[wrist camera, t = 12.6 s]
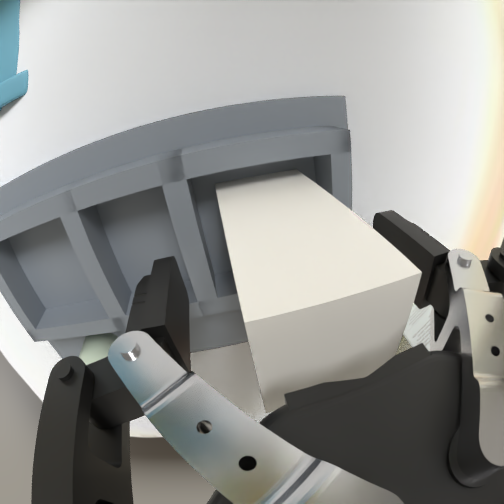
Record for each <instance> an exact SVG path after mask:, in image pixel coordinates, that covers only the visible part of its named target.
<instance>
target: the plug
mask: <svg viewBox="0 0 504 504" xmlns="http://www.w3.org/2000/svg"><path fill="white" fill-rule="evenodd" d="M215 188H216V193H217V198H218V203H219V208H220V213H221V218H222V223H223V228H224V233H225V238H226V242H227V247H228V252H229V257H230V261H231V266H232V271H233V275H234V280H235V284H236V289H237V293H238V298H239V302H240V307H241V311H242V315H243V320H244V324H245V328H246V333H247V337H248V341H249V345H250V350H251V354H252V358H253V362H254V366H255V370H256V375H257V379H258V383H259V387H260V391H261V395H262V399H263V403H264V407H265V411H266V413H268V412H273V411H275V410H276V409H278V408H280V407H281V406H283V405H285V397H284V394H286V393H289V392H293V391H297V390H300V389H304V388H307V387H311V386H314V385H317V384H320V383H323V382H334V381H343V380H351V379H358V378H364V377H367V376H368V375H370V374H371V373H373V372H374V371H375V370H377V369H378V368H379V367H381V366H382V365H383V364H385V363H386V362H387V361H388V360H390V359H391V358H392V357H394V356H395V355H396V352H397V350H398V347H399V345H400V342H401V339H402V336H403V334H404V331H405V328H406V325H407V322H408V319H409V316H410V313H411V310H412V306H413V303H414V300H415V296H416V293H417V289H418V286H419V282H420V278H421V274H422V272H421V271H420V270H419V269H418V268H417V267H416V266H415V265H414V264H413V263H412V262H411V261H410V260H409V259H407V258H406V257H405V256H404V255H403V254H402V253H401V252H400V251H399V250H398V249H396V248H395V247H394V246H393V245H392V244H391V243H390V242H388V241H387V240H386V239H385V238H384V237H383V236H382V235H380V234H379V233H378V232H377V231H376V230H375V229H373V228H372V227H371V226H370V225H369V224H367V223H366V222H365V221H364V220H362V219H361V218H360V217H359V216H358V215H356V214H355V213H354V212H353V211H351V210H350V209H349V208H348V207H346V206H345V205H344V204H342V203H341V202H340V201H339V200H337V199H336V198H335V197H333V196H332V195H331V194H329V193H328V192H327V191H326V190H324V189H323V188H322V187H320V186H319V185H317V184H316V183H315V182H313V181H312V180H311V179H309V178H308V177H306V176H305V175H304V174H302V173H301V172H299V171H298V170H297V169H296V170H289V171H283V172H277V173H271V174H265V175H259V176H253V177H248V178H242V179H237V180H232V181H227V182H222V183H217V184H215Z"/></svg>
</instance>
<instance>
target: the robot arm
mask: <svg viewBox="0 0 504 504" xmlns="http://www.w3.org/2000/svg"><path fill="white" fill-rule="evenodd" d="M373 229H375V230H376V231H377V232H378V233H379V234H380V235H382V236H383V237H384V238H385V239H386V240H387V241H388V242H390V243H391V244H392V245H393V246H394V247H395V248H396V249H398V250H399V251H400V252H401V253H402V254H403V255H404V256H405V257H406V258H407V259H409V260H410V261H411V262H412V263H413V264H414V265H415V266H416V267H417V268H418V269H419V270H420V271H421V272H422V274H421V278H420V282H419V286H418V289H417V293H416V296H415V300H414V304H415V305H416V306H417V307H418V308H419V309H422V308H424V307H427V306H429V305H432V309H431V312H430V351H428V350H427V348H426V347H425V345H424V344H423V343H421V344H419V345H417V346H414V347H412V348H410V349H408V350H406V351H404V352H402V353H399V354H397V355H395V356H394V357H392V358H391V359H390V360H388V361H387V362H386V363H385V364H383V365H382V366H381V367H379V368H378V369H377V370H375V371H374V372H373V373H371V374H370V375H368V376H367V377H364V378H358V379H351V380H343V381H334V382H323V383H320V384H317V385H314V386H311V387H307V388H304V389H300V390H297V391H293V392H289V393H286V394H284V397H285V405H283V406H281V407H280V408H278V409H276V410H275V411H273V412H272V413H270V414H269V415H268V416H266V417H265V418H264V419H263V420H262V421H261V422H260V423H258V422H257V421H256V420H254V419H253V418H251V417H250V416H249V415H247V414H246V413H245V412H243V411H242V410H241V409H239V408H238V407H237V406H235V405H234V404H233V403H231V402H230V401H229V400H228V399H226V398H225V397H224V396H223V395H221V394H220V393H219V392H218V391H216V390H215V389H214V388H213V387H212V386H210V385H209V384H208V383H207V382H206V381H204V380H203V379H202V378H201V377H200V376H198V375H197V374H196V373H194V372H192V371H191V364H190V323H189V298H188V293H187V290H186V287H185V284H184V281H183V278H182V276H181V273H180V270H179V267H178V264H177V261H176V259H175V257H174V256H170V257H166V258H161V259H157V260H154V262H153V267H152V271H151V275H146V276H144V277H143V278H142V279H141V280H140V282H139V283H138V284H137V286H136V290H135V294H134V297H133V301H132V306H131V310H130V314H129V318H128V323H127V327H126V332H125V334H123V335H121V336H119V337H118V338H117V339H116V340H115V341H114V342H113V343H112V345H111V346H110V348H109V351H108V356H107V357H105V358H103V359H100V360H98V361H96V362H93V363H91V364H88V365H86V364H85V363H84V362H83V360H82V359H81V358H79V357H77V356H68V357H65V358H63V359H62V360H60V361H59V362H58V363H57V364H56V365H55V366H54V367H53V369H52V371H51V373H50V376H49V380H48V384H47V388H46V392H45V396H44V400H43V405H42V410H41V415H40V420H39V425H38V431H37V438H36V445H35V453H34V463H33V475H32V504H133V495H132V484H131V467H130V440H129V439H130V421H131V420H134V419H137V418H139V417H142V416H144V415H146V417H147V418H148V419H149V420H150V422H151V423H152V424H153V425H154V426H155V428H156V429H157V430H158V431H159V432H160V433H161V435H162V436H163V437H164V438H165V439H166V440H167V441H168V442H169V443H170V445H171V446H172V447H173V448H174V449H175V450H176V451H177V452H178V453H179V454H180V455H181V456H182V457H183V458H184V459H185V460H186V461H187V462H188V463H189V464H190V465H191V466H192V467H193V468H194V469H195V470H196V471H197V472H198V473H199V474H200V475H201V476H202V477H203V478H204V479H205V480H206V481H207V482H209V483H210V484H211V485H212V486H213V487H214V488H215V489H216V490H215V492H214V493H213V495H212V497H211V498H210V500H209V501H208V503H207V504H504V249H503V248H498V247H497V248H493V249H492V250H491V253H490V256H489V260H481V261H480V260H479V259H478V258H477V256H475V255H474V254H473V253H471V252H469V251H466V250H462V249H454V250H451V251H450V250H448V249H447V248H446V247H445V246H443V245H442V244H441V243H440V242H438V241H437V240H436V239H434V238H433V237H432V236H429V234H428V233H427V232H425V231H423V230H422V229H421V228H420V227H418V226H417V225H416V224H414V223H411V222H409V221H407V220H406V219H404V218H403V217H402V216H400V215H399V214H397V213H396V212H394V211H392V210H390V211H385V212H380V213H376V214H375V216H374V220H373Z"/></svg>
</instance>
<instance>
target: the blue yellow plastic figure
mask: <svg viewBox="0 0 504 504" xmlns="http://www.w3.org/2000/svg"><path fill="white" fill-rule="evenodd" d="M19 10H20V0H0V111H1V109H2V107H3V106H4V105H6V104H8V103H10V102H12V101H13V100H15V99H17V98H19V97H21V96H23V95H25V94H26V92H27V89H28V70H25V71H23V72H21V73H19V74H16V72H17V62H18V52H19Z"/></svg>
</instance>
